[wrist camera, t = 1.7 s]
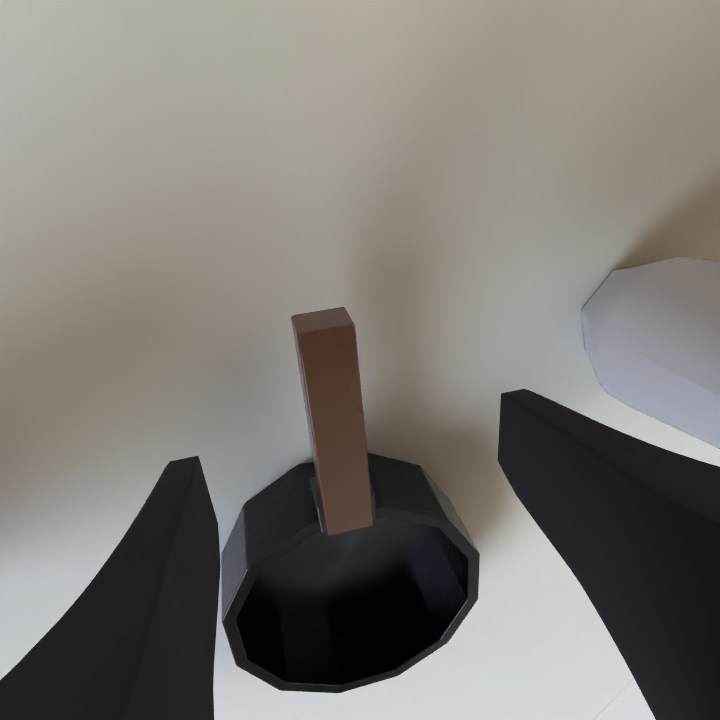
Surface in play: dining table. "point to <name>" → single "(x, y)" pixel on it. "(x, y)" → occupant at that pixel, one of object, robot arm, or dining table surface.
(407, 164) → the dining table surface
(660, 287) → the salt shaker
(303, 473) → the pan
